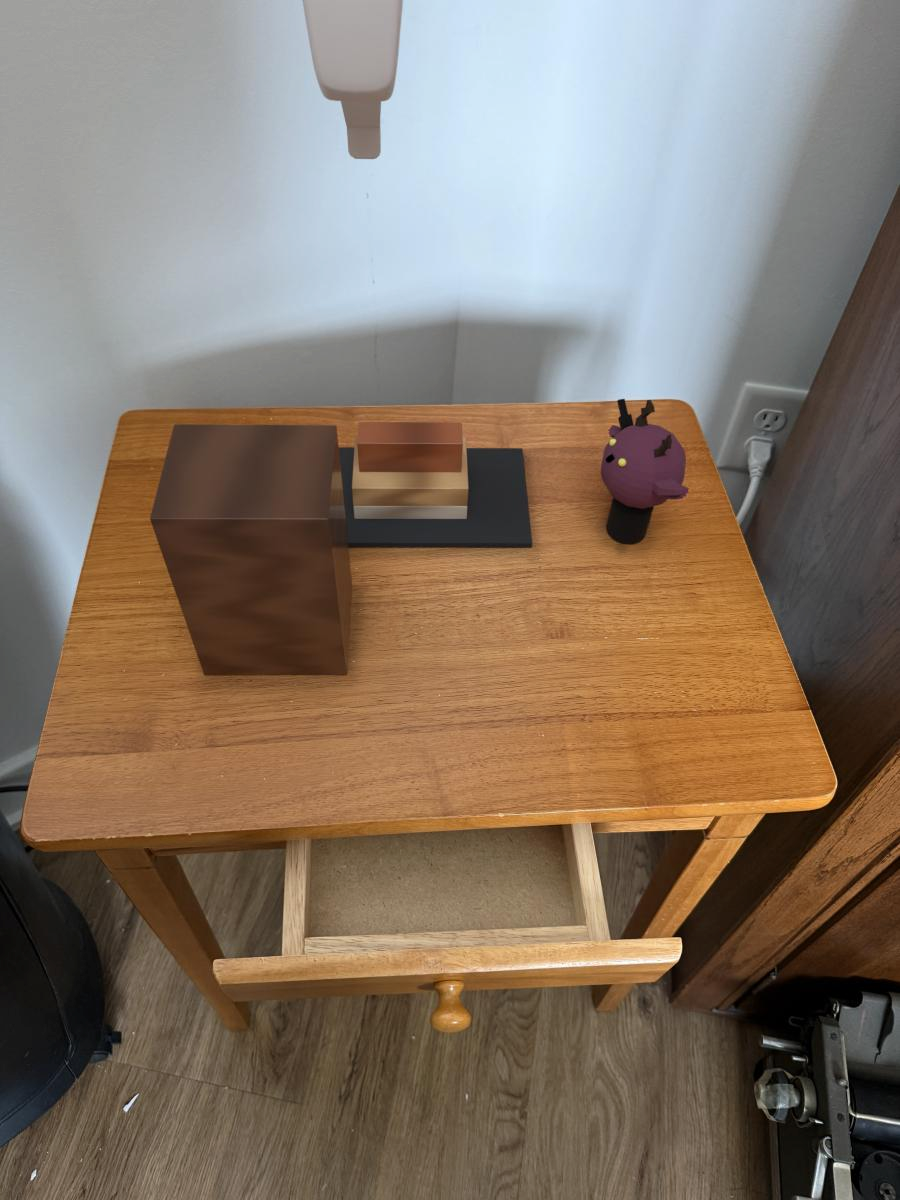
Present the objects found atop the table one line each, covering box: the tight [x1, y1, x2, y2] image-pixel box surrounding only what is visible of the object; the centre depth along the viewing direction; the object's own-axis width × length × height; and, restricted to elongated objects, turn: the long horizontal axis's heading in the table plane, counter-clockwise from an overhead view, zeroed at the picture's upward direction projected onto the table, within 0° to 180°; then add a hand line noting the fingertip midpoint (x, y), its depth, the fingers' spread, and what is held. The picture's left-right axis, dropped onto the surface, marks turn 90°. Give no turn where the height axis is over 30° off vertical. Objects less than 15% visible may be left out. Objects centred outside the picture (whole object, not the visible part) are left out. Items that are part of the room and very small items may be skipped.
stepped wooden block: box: [352, 421, 468, 519], centre depth 71 cm, size 9×6×6 cm, turn 91°
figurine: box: [600, 398, 690, 545], centre depth 67 cm, size 8×8×12 cm
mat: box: [339, 446, 533, 549], centre depth 73 cm, size 20×11×1 cm, turn 91°
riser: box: [149, 423, 353, 676], centre depth 59 cm, size 10×8×16 cm
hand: (368, 115), depth 53 cm, fingers open, 8 cm apart
